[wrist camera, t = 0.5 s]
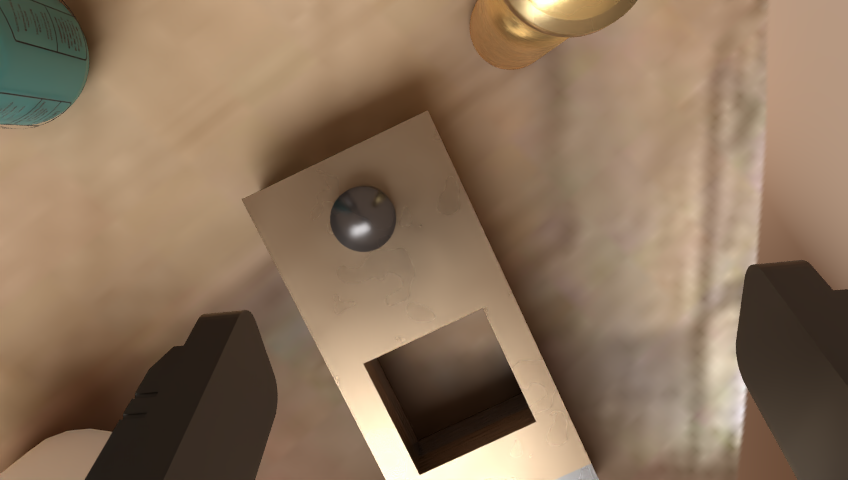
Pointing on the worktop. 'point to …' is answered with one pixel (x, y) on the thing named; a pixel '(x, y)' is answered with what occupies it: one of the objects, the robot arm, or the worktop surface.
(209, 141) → the worktop surface
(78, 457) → the cylinder with rectangular tab
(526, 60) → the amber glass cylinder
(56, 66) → the beverage bottle
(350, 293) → the metal socket block
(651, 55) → the worktop surface
